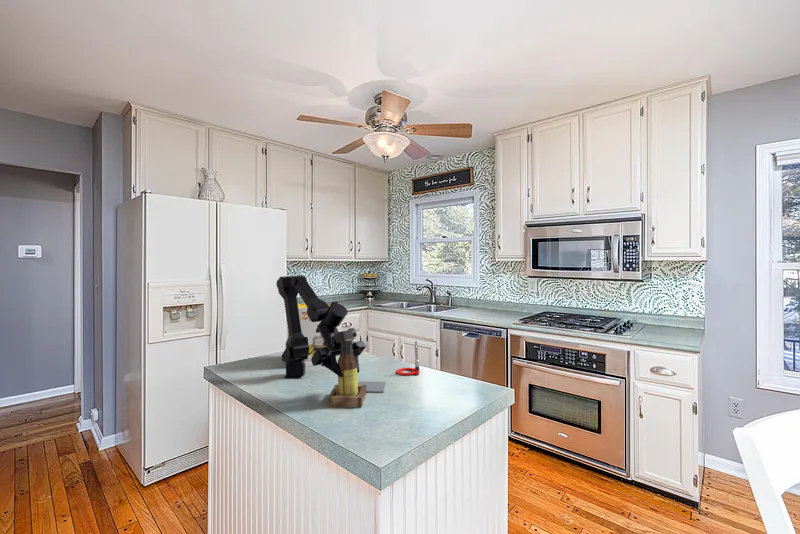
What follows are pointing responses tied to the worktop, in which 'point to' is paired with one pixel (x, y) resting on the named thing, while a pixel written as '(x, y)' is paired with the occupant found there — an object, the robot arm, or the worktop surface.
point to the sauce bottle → (347, 370)
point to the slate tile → (373, 386)
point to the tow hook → (415, 370)
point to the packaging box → (310, 333)
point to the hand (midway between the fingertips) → (350, 374)
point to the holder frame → (346, 398)
